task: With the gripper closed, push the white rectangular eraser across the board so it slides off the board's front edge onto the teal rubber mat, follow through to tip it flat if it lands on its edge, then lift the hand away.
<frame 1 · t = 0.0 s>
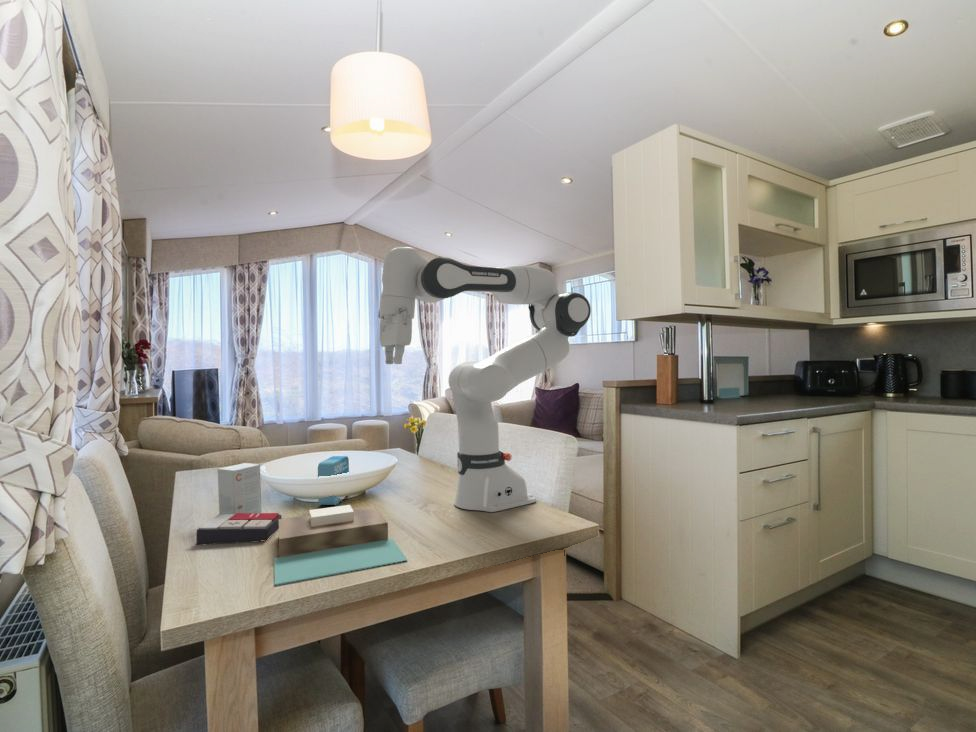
hand: (393, 364, 126), 39 cm above the table, tool pointing down, fingers open, 8 cm apart
data package: (334, 501, 142), on the table
board: (332, 538, 111), on the table
small box: (240, 516, 129), on the table
calculator: (241, 537, 115), on the table
white rectangular eraser: (331, 515, 112), point 5 cm above the table, touching board
mat: (340, 560, 98), on the table
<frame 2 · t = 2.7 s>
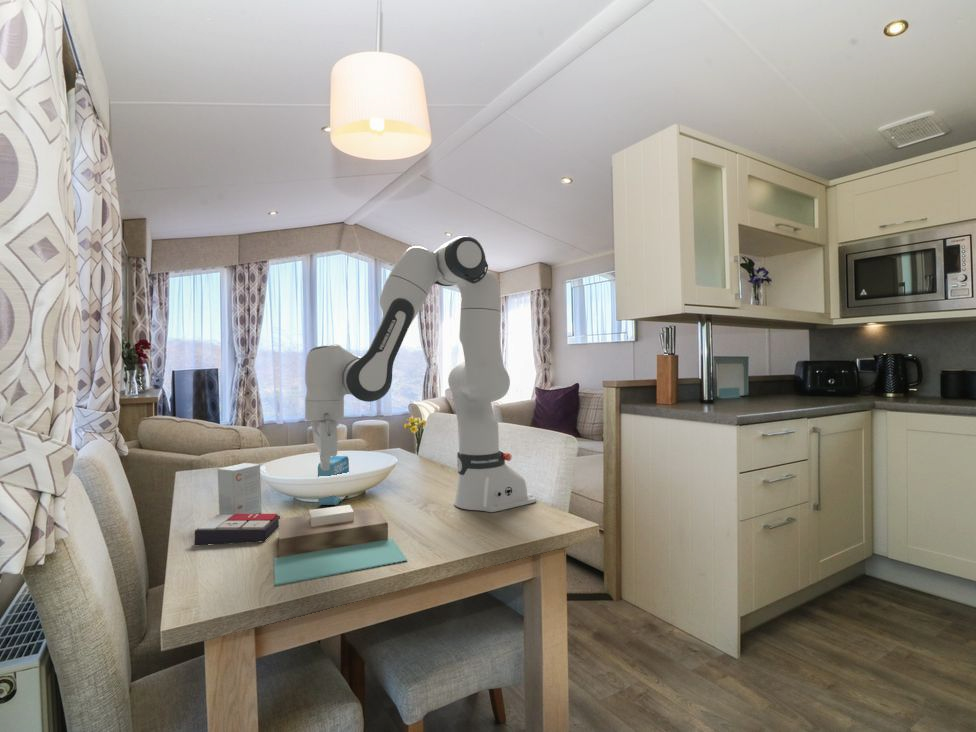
hand: (325, 469, 119), 14 cm above the table, tool pointing down, fingers closed
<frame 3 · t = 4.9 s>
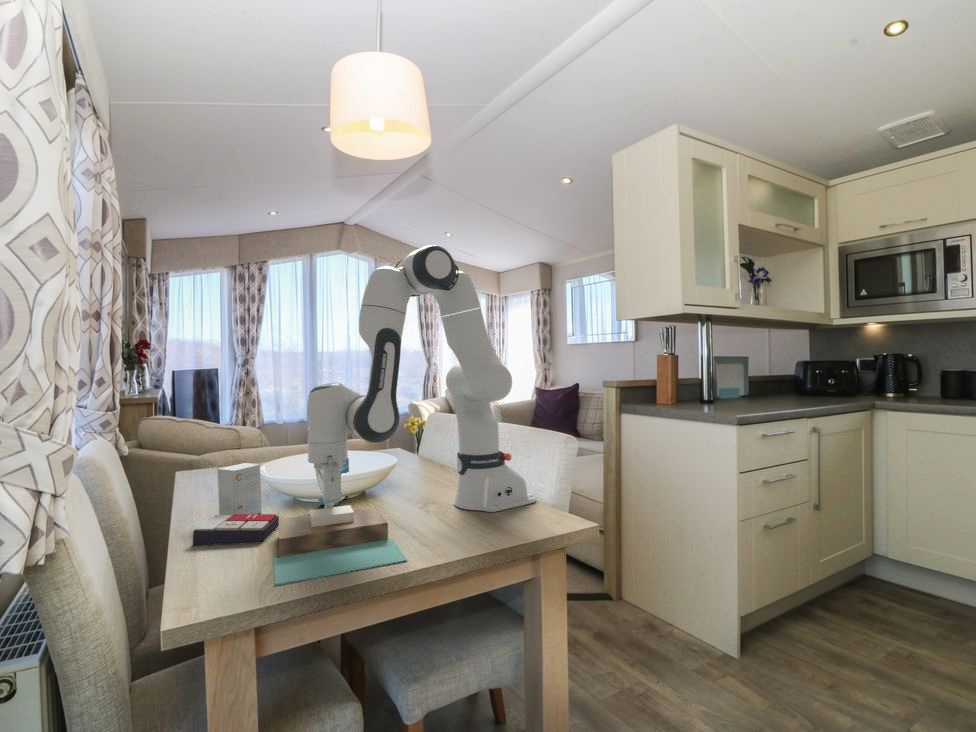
hand: (329, 511, 115), 5 cm above the table, tool pointing down, fingers closed
white rectangular eraser: (331, 515, 111), point 5 cm above the table, touching board, gripper
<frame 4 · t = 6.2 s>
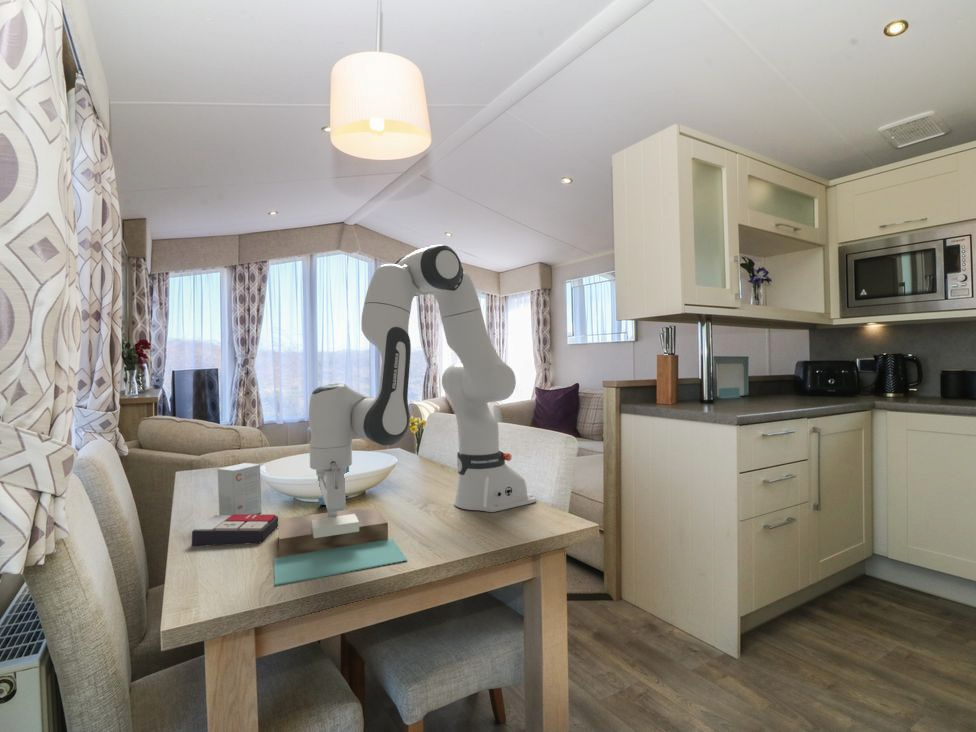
hand: (332, 521, 109), 5 cm above the table, tool pointing down, fingers closed
white rectangular eraser: (335, 525, 104), point 5 cm above the table, touching gripper
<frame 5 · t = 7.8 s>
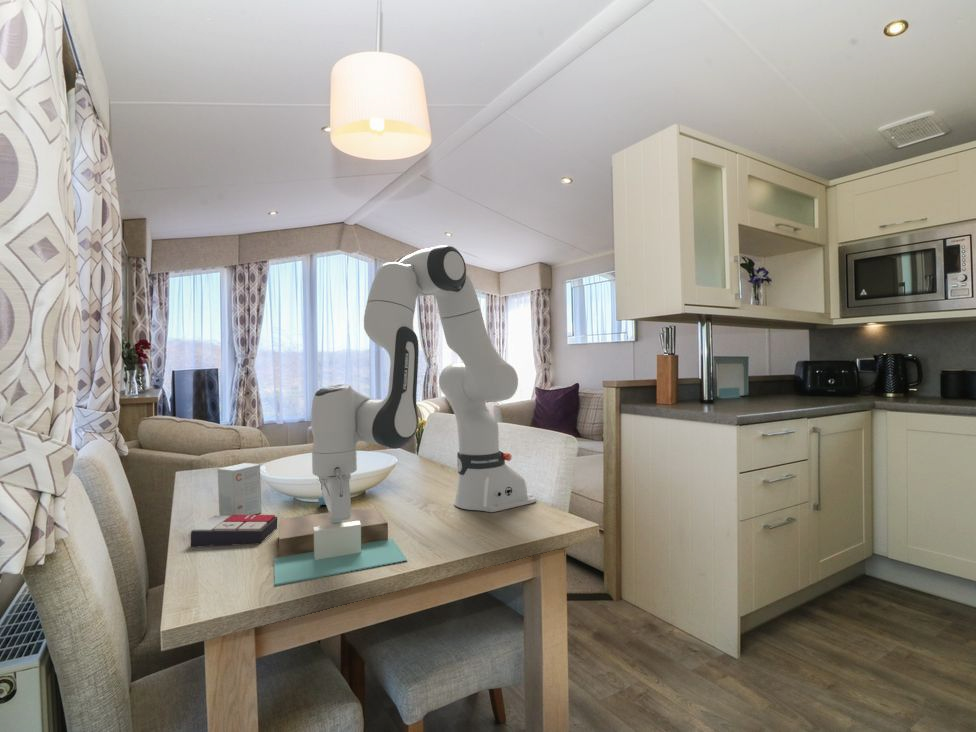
hand: (336, 530, 103), 5 cm above the table, tool pointing down, fingers closed
white rectangular eraser: (337, 539, 100), point 3 cm above the table, tilted 96°, touching gripper, mat
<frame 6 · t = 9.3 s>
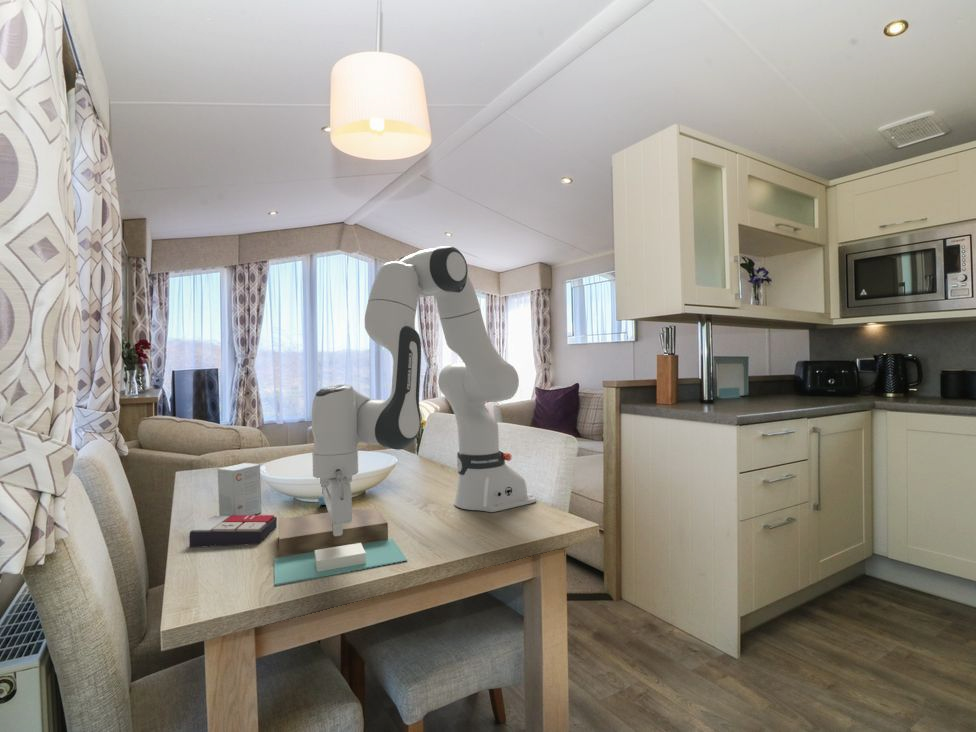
hand: (337, 533, 100), 5 cm above the table, tool pointing down, fingers closed
white rectangular eraser: (340, 556, 97), point 1 cm above the table, tilted 180°, touching mat
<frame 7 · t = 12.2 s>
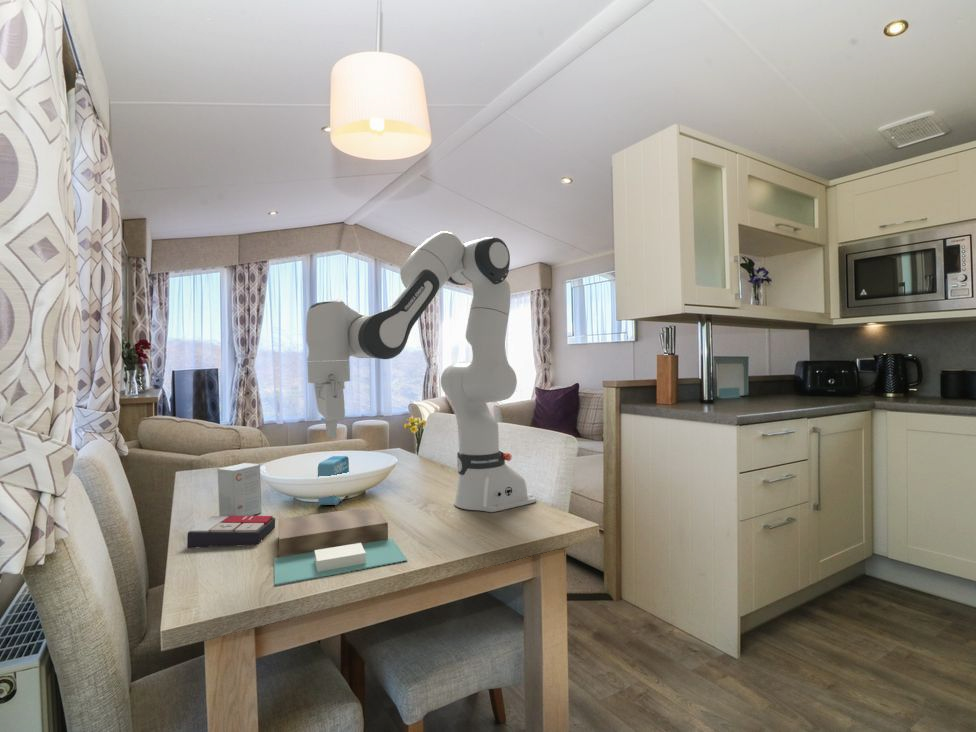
hand: (331, 437, 109), 23 cm above the table, tool pointing down, fingers closed
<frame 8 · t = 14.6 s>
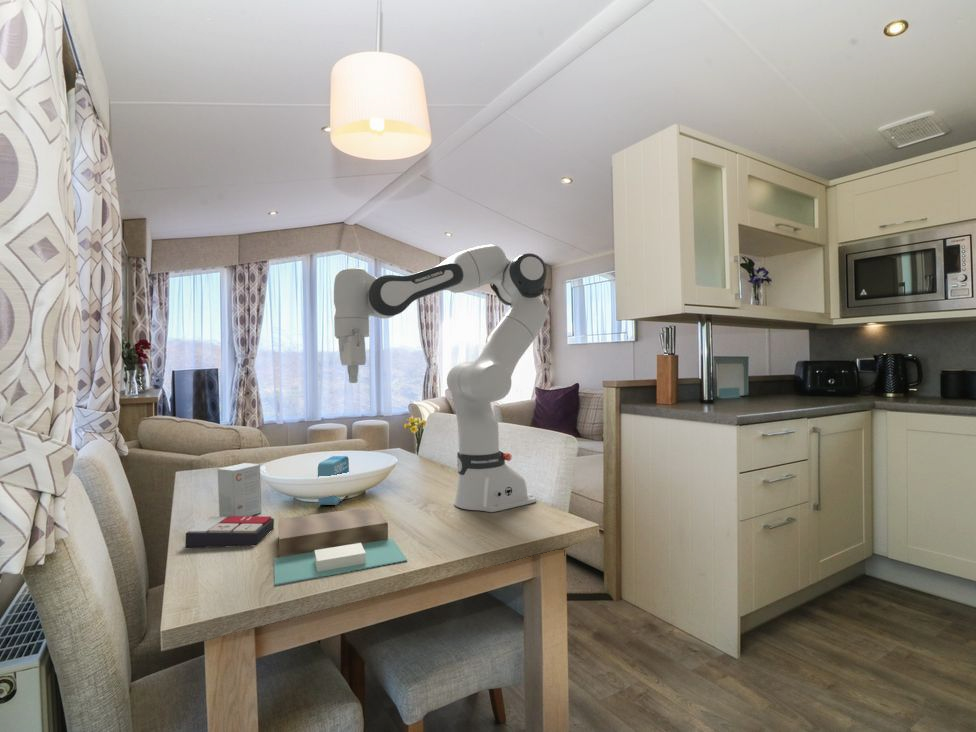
hand: (353, 382, 130), 34 cm above the table, tool pointing down, fingers closed
at the end: white rectangular eraser inside the target area on the mat (1.2 cm from its centre), point 1.3 cm above the mat's base; white rectangular eraser point 1.3 cm above the table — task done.
